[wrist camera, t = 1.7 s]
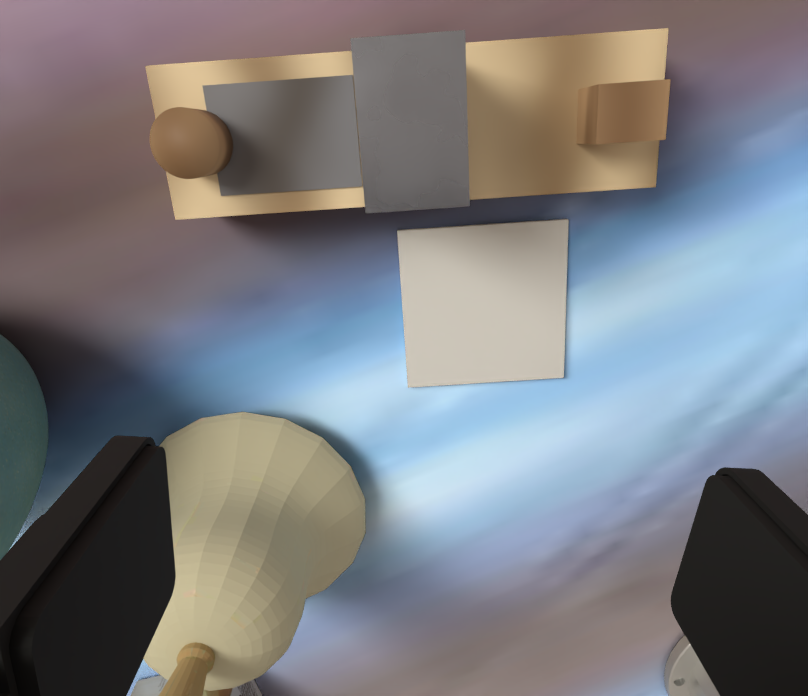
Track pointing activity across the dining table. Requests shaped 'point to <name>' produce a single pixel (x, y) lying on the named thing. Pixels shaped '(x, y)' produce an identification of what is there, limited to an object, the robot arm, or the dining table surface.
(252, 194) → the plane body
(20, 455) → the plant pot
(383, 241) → the dining table surface
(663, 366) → the dining table surface
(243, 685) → the coffee box
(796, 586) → the robot arm
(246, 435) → the handbell
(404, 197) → the tall grey box
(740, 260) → the dining table surface
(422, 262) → the mat
